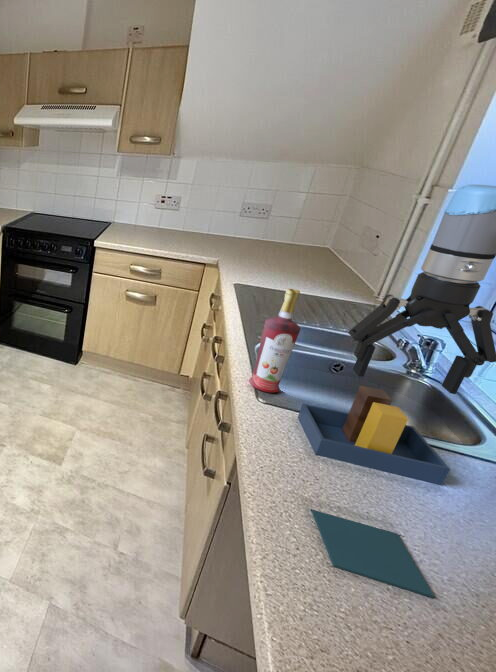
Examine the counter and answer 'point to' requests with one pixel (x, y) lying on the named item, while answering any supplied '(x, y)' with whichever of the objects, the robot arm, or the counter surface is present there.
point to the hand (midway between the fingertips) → (401, 381)
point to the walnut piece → (362, 410)
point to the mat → (370, 553)
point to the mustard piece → (382, 428)
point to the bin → (405, 460)
